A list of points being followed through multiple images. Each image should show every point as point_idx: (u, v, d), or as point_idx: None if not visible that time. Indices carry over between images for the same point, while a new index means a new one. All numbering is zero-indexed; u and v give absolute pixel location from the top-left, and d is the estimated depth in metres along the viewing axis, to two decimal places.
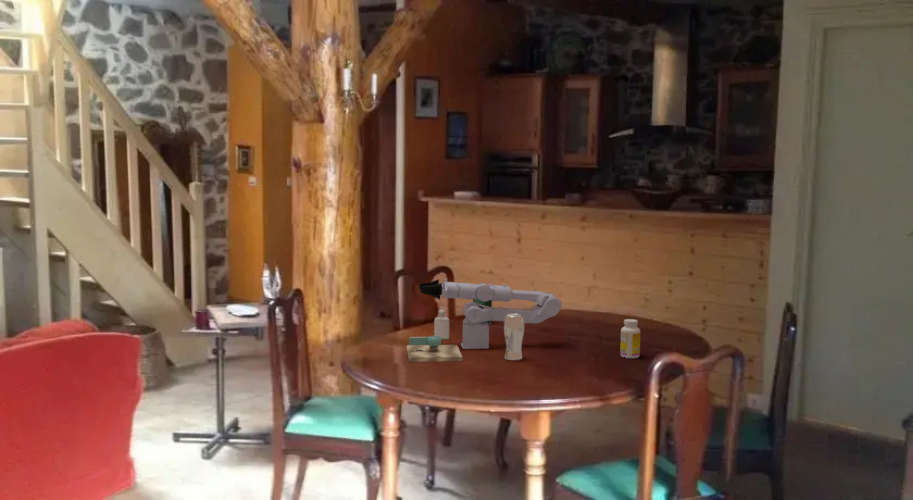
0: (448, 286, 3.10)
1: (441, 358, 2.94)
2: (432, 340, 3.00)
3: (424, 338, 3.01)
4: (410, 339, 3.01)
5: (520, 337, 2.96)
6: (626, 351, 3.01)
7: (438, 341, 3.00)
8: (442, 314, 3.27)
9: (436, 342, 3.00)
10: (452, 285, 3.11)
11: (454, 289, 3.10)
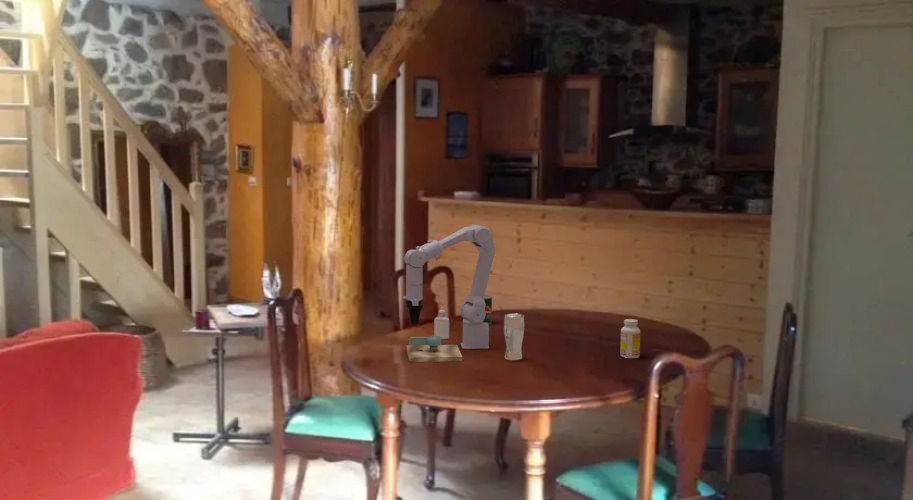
0: (410, 295, 3.03)
1: (441, 358, 2.94)
2: (432, 340, 3.00)
3: (424, 338, 3.01)
4: (410, 339, 3.01)
5: (520, 337, 2.96)
6: (626, 351, 3.01)
7: (438, 341, 3.00)
8: (442, 314, 3.27)
9: (436, 342, 3.00)
10: (408, 291, 3.03)
11: (412, 289, 3.03)
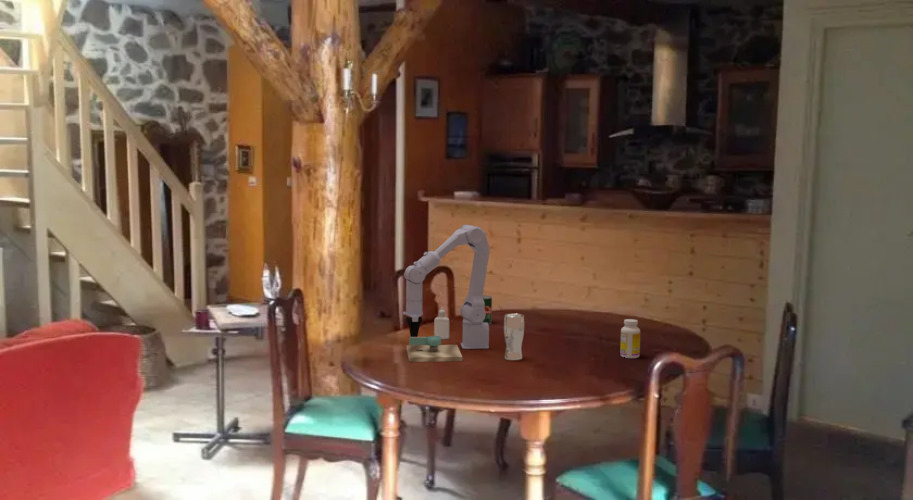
0: (409, 311, 3.04)
1: (441, 358, 2.94)
2: (432, 340, 3.00)
3: (424, 338, 3.01)
4: (410, 339, 3.01)
5: (520, 337, 2.96)
6: (626, 351, 3.01)
7: (438, 341, 3.00)
8: (442, 314, 3.27)
9: (436, 342, 3.00)
10: (408, 307, 3.04)
11: (412, 305, 3.03)
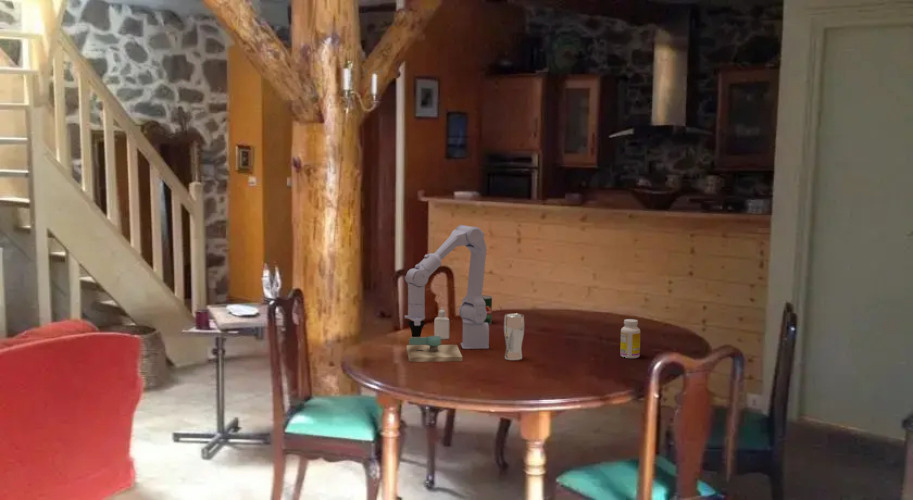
0: (412, 315, 3.00)
1: (441, 358, 2.94)
2: (432, 340, 3.00)
3: (424, 338, 3.01)
4: (410, 339, 3.01)
5: (520, 337, 2.96)
6: (626, 351, 3.01)
7: (438, 341, 3.00)
8: (442, 314, 3.27)
9: (436, 342, 3.00)
10: (410, 311, 3.00)
11: (414, 308, 2.99)
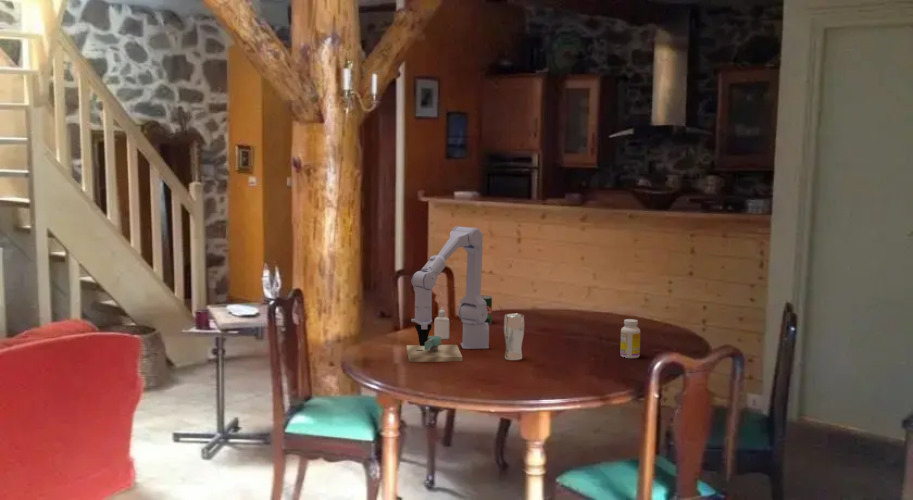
0: (418, 318, 2.94)
1: (441, 358, 2.94)
2: (439, 339, 3.01)
3: (432, 340, 2.99)
4: (427, 344, 2.94)
5: (520, 337, 2.96)
6: (626, 351, 3.01)
7: None
8: (442, 314, 3.27)
9: None
10: (417, 314, 2.94)
11: (421, 312, 2.93)
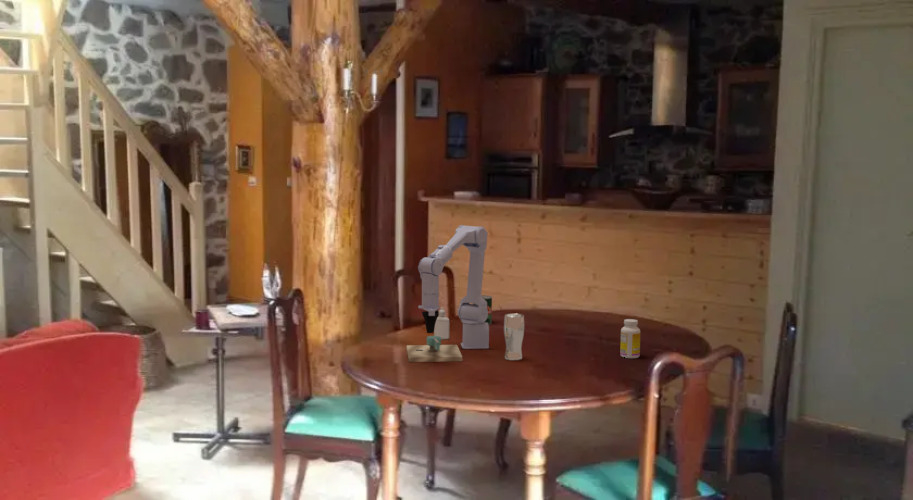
0: (426, 305, 2.91)
1: (441, 358, 2.94)
2: (440, 339, 3.02)
3: (436, 340, 2.99)
4: None
5: (520, 337, 2.96)
6: (626, 351, 3.01)
7: None
8: (442, 314, 3.27)
9: None
10: (424, 300, 2.91)
11: (428, 298, 2.91)
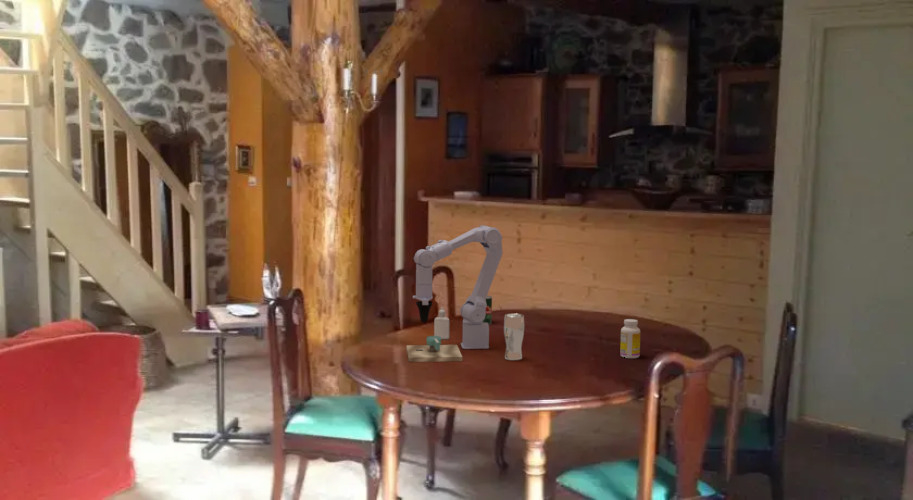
0: (419, 295, 3.05)
1: (441, 358, 2.94)
2: (440, 339, 3.02)
3: (436, 340, 2.99)
4: (439, 344, 2.94)
5: (520, 337, 2.96)
6: (626, 351, 3.01)
7: None
8: (442, 314, 3.27)
9: None
10: (418, 291, 3.05)
11: (422, 289, 3.04)
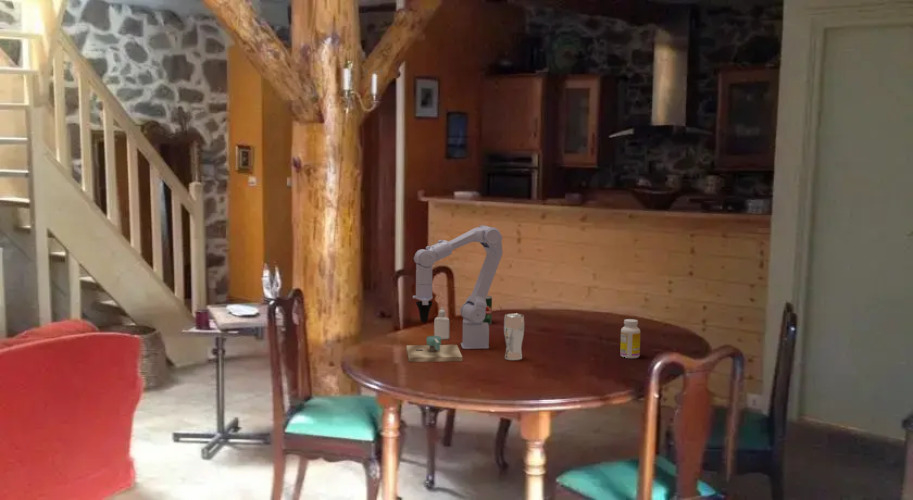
0: (419, 295, 3.05)
1: (441, 358, 2.94)
2: (440, 339, 3.02)
3: (436, 340, 2.99)
4: (439, 344, 2.94)
5: (520, 337, 2.96)
6: (626, 351, 3.01)
7: None
8: (442, 314, 3.27)
9: None
10: (418, 291, 3.05)
11: (422, 289, 3.04)
